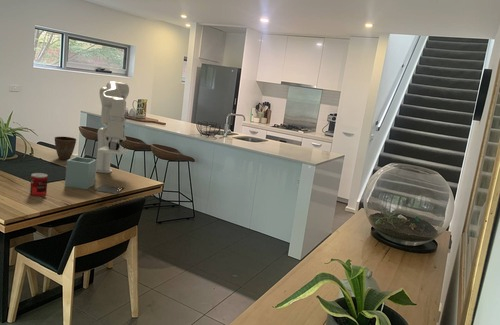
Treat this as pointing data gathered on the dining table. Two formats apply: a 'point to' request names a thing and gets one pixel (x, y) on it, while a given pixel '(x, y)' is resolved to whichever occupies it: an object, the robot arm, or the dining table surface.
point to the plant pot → (64, 147)
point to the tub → (80, 172)
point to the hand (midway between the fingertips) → (113, 148)
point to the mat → (108, 189)
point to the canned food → (38, 184)
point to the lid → (112, 149)
